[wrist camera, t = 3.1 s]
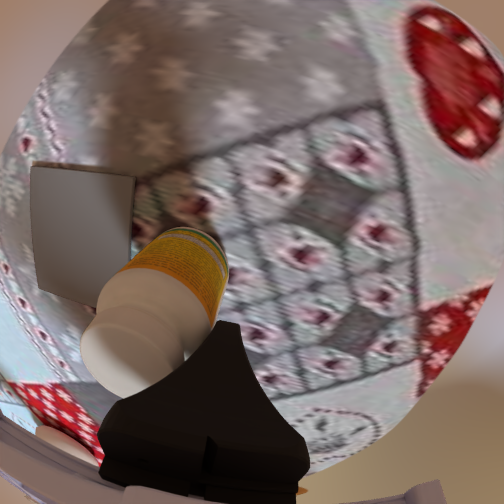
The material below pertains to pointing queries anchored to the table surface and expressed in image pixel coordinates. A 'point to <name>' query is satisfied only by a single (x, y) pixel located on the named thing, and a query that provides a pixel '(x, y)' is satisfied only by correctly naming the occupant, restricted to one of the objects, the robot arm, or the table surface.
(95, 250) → the mat
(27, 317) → the table surface
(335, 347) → the table surface
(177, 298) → the supplement bottle
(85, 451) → the flower in vase
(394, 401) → the table surface
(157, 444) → the robot arm
